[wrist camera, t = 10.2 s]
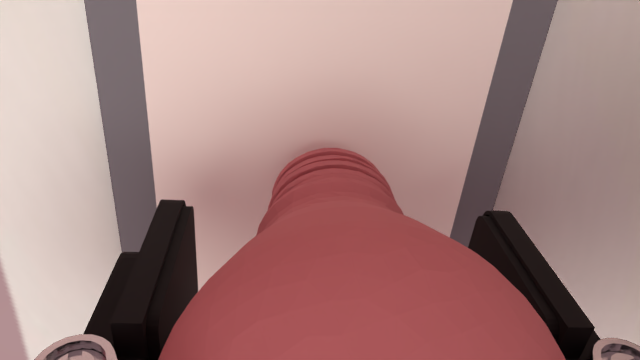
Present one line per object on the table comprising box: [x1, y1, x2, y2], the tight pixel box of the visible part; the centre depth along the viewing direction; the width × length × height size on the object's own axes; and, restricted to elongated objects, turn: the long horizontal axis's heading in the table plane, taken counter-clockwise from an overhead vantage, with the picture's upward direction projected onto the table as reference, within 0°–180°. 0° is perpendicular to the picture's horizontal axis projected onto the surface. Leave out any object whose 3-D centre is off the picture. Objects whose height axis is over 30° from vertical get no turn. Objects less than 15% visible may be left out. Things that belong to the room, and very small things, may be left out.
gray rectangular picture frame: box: [84, 0, 558, 291], centre depth 17 cm, size 19×14×1 cm
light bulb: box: [158, 148, 566, 360], centre depth 10 cm, size 7×7×12 cm
